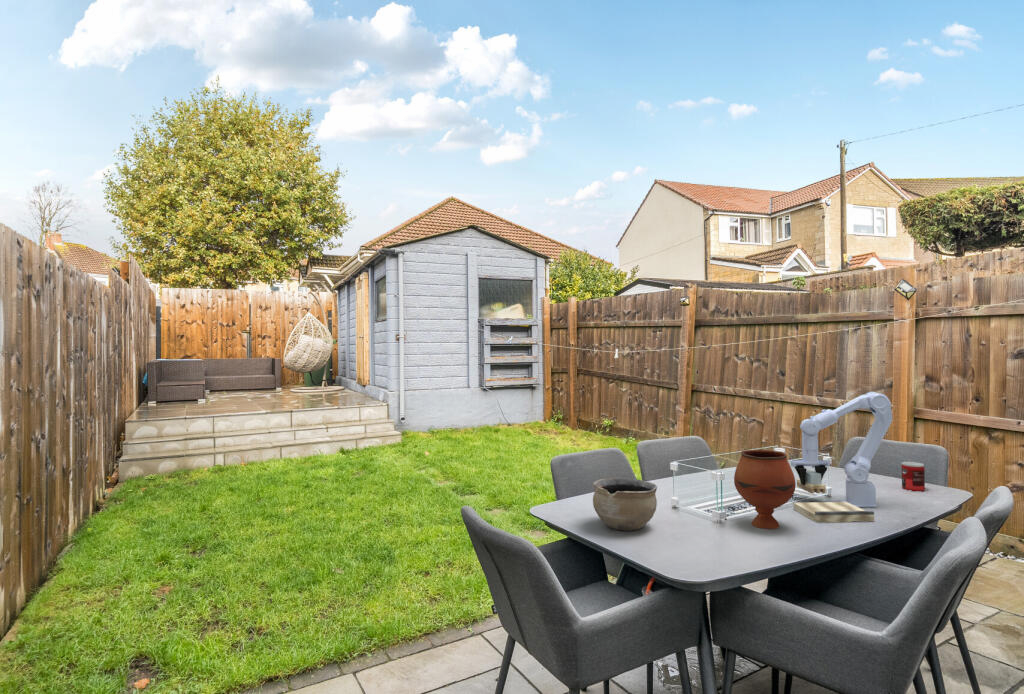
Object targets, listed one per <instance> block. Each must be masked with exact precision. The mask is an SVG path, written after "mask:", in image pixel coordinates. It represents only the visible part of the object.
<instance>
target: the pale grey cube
mask: <svg viewBox="0 0 1024 694" xmlns="http://www.w3.org/2000/svg"><path fill="white" fill-rule="evenodd" d="M805 478H806V483H808V484H811V485H821V484H822V482H821V474H819V473H817V472H815V471H814V472H806V477H805Z"/></svg>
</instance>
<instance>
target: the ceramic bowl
mask: <svg viewBox="0 0 1024 694" xmlns="http://www.w3.org/2000/svg"><path fill="white" fill-rule="evenodd" d="M592 485H593V488H594V493H593V495H592V505H593V509H594V511H595V513H596V514H597V516H598V518H599V519H600V521H601V522H602V523H604V524H605V525H606V526H608V527H609V528H612V529H613V530H618V531H634V530H635V531H636V530H639V529H641V528H642V527H644V526H646V525H647V524H648V523H649V522H650V520H652V519H653V517H654V514H655V512H656V511H657V506H658V505H657V504H658V501H657V496H656V492H657V489H658V485H657V484H656V483H653V482H650V481H645V480H643V479H642V480H641V479H639V478H638V479H637V478H626V477H625V478H624V477H611V478H610V477H609V478H601V479H597V480H595V481H593V484H592Z"/></svg>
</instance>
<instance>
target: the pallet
mask: <svg viewBox="0 0 1024 694" xmlns="http://www.w3.org/2000/svg"><path fill="white" fill-rule="evenodd" d="M826 486H827V485H826V484H823V483H821V485H811V484H808V483H806V484H805V485H802V484H801V482H800V478H797V479H796V487H797V488H799V489H801V490H803V491H805V492H808V493H809V494H815V493H816V494H820V493H821V494H826V493H827V489H826Z"/></svg>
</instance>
